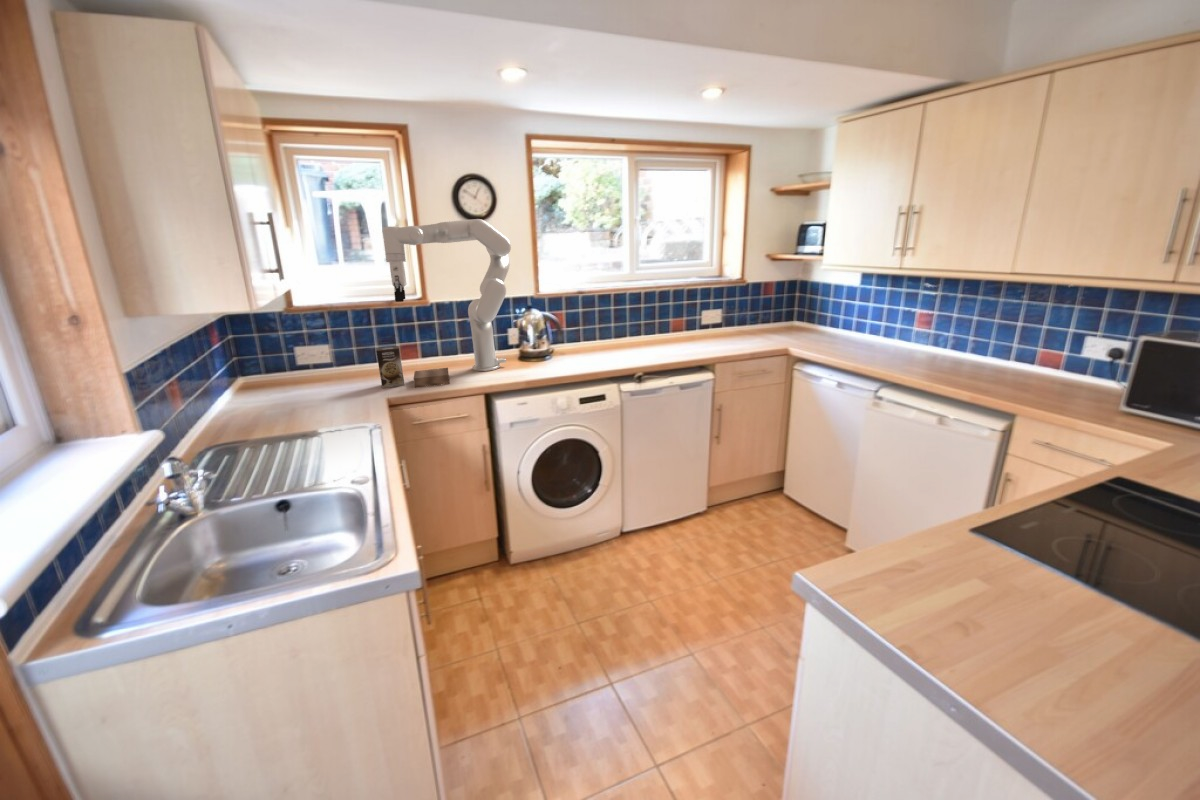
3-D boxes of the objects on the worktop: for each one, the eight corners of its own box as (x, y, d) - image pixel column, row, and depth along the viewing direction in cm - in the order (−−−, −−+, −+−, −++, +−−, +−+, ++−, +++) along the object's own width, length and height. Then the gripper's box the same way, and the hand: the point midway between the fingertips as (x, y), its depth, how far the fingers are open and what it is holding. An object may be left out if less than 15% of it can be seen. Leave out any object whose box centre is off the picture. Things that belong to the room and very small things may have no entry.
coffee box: (382, 388, 220) (375, 350, 215) (382, 384, 226) (375, 347, 221) (405, 385, 223) (399, 348, 218) (404, 381, 229) (398, 345, 224)
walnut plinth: (449, 376, 235) (447, 367, 234) (449, 383, 223) (448, 374, 222) (416, 379, 231) (414, 371, 230) (415, 387, 219) (413, 378, 218)
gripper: (403, 258, 210) (408, 302, 215) (406, 257, 226) (411, 297, 231) (383, 259, 208) (388, 303, 213) (388, 257, 224) (393, 298, 229)
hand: (400, 300), depth 222 cm, fingers open, 9 cm apart
